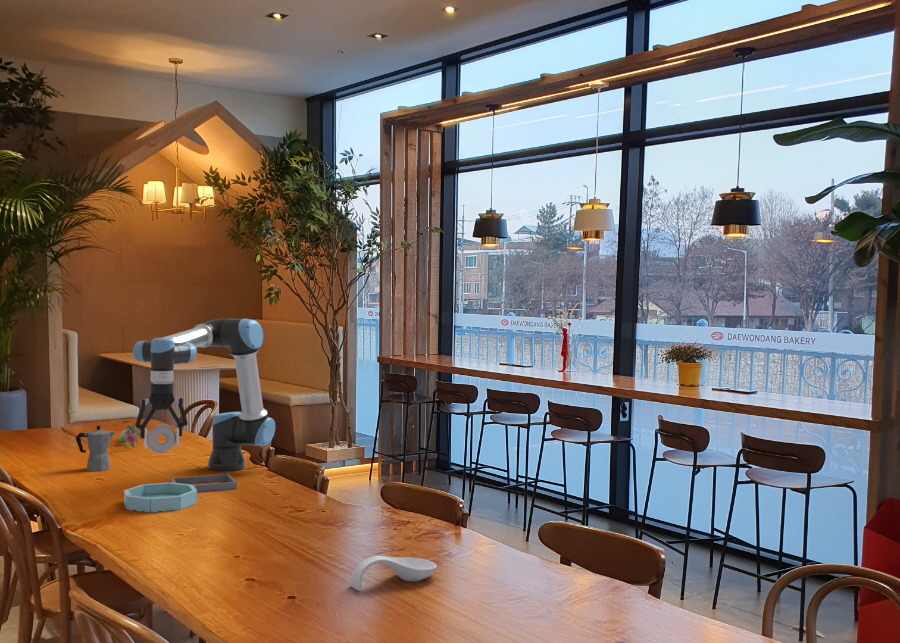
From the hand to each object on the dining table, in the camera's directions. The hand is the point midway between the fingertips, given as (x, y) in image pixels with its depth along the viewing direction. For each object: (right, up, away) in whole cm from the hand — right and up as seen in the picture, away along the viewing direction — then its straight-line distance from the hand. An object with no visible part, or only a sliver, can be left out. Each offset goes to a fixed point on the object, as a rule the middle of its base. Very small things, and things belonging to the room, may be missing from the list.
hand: (161, 446), depth 288 cm
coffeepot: (-46, -17, +53) cm, 72 cm away
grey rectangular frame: (+7, -19, +26) cm, 33 cm away
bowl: (0, -20, 0) cm, 20 cm away
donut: (0, -2, 0) cm, 2 cm away
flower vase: (-53, -16, +107) cm, 120 cm away
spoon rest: (+86, -24, -73) cm, 115 cm away
